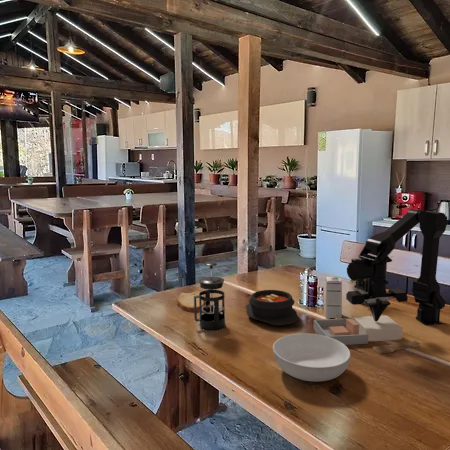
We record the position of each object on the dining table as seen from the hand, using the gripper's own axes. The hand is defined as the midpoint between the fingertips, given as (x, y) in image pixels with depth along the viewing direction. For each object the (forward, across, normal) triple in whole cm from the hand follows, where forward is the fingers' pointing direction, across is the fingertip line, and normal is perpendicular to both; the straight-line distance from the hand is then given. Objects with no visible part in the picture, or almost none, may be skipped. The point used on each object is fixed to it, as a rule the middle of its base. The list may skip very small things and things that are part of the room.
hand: (375, 320), depth 139 cm
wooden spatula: (+4, -2, +11) cm, 12 cm away
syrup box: (+5, +9, -17) cm, 20 cm away
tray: (+4, +12, 0) cm, 13 cm away
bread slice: (+4, +61, -38) cm, 72 cm away
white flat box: (+4, 0, 0) cm, 4 cm away
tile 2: (+1, +8, +2) cm, 8 cm away
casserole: (+4, +32, -19) cm, 37 cm away
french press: (+4, +55, -13) cm, 56 cm away
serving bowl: (+4, +29, +22) cm, 37 cm away
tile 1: (+2, +13, +1) cm, 13 cm away
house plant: (+5, -7, -30) cm, 31 cm away
